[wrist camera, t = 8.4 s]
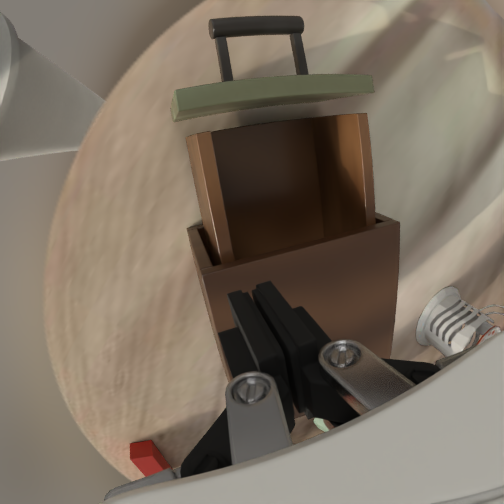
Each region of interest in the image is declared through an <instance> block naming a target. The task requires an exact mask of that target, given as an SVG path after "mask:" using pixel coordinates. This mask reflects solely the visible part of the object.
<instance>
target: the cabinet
mask: <svg viewBox="0 0 504 504" xmlns="http://www.w3.org/2000/svg"><path fill="white" fill-rule="evenodd" d="M375 222H376V224H374V225H370V226H366V227H362V228H359V229H355V230H351V231H347V232H343V233H340V234H336V235H332V236H328V237H324V238H321V239H317V240H313V241H309V242H305V243H302V244H298V245H294V246H290V247H286V248H282V249H279V250H275V251H271V252H267V253H263V254H259V255H256V256H252V257H248V258H244V259H240V260H236V261H232V262H229V263H225V264H221V265H217V266H213V265H212V262H211V257H210V253H209V249H208V244H207V240H206V235H205V230H204V226H203V224H202V225H198V226H194V227H190V228H187V232H188V236H189V241H190V245H191V249H192V253H193V257H194V261H195V265H196V269H197V273H198V277H199V281H200V285H201V289H202V293H203V296H204V300H205V304H206V308H207V311H208V315H209V319H210V322H211V326H212V329H213V333H214V336H215V340H216V343H217V347H218V350H219V354H220V357H221V361H222V364H223V367H224V370H225V373H226V376H227V379H228V382H230V381H231V380H232V379H233V377H232V375H231V372H230V369H229V366H228V363H227V360H226V357H225V354H224V351H223V348H222V345H221V342H220V339H219V336H218V333H219V332H222V331H225V330H228V329H232V328H235V324H234V320H233V317H232V313H231V309H230V306H229V302H228V298H227V293H231V292H234V291H237V290H242V292H243V293H244V292H248V293H249V295H250V296H251V298H252V300H253V296H252V290H254V289H256V285H257V284H260V283H263V282H267V281H271V282H272V283H273V284H274V286H275V287H276V288H277V290H278V291H279V292H280V293H281V295H282V296H283V297H284V298H285V300H286V301H287V302H288V304H289V305H290V306H291V307H292V309H293V308H296V307H299V306H302V307H303V308H304V309H305V310H306V311H307V312H308V313H309V314H310V316H311V317H312V318H313V319H314V320H315V321H316V323H317V324H318V325H319V326H320V327H321V328H322V330H323V331H324V332H325V333H326V334H327V336H328V337H329V338H330V339H331V340H332V341H334V340H338V339H351V340H355V341H357V342H359V343H361V344H362V345H363V346H365V347H366V348H367V349H369V350H370V351H372V352H373V353H374V354H376V355H377V356H378V357H380V358H384V359H390V355H391V348H392V341H393V332H394V323H395V314H396V303H397V290H398V274H399V251H400V222H398V221H396V220H393V219H391V218H389V217H386V216H384V215H381V214H379V213H376V212H375ZM293 406H294V404H293ZM294 412H295V416H294V419H296V418H298V417H301V416H304V415H305V413H304V412H302V413H300V414H299V413H298V411H297V410H296V408H295V406H294Z"/></svg>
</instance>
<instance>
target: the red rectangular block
mask: <svg viewBox="0 0 504 504" xmlns="http://www.w3.org/2000/svg"><path fill="white" fill-rule="evenodd" d="M130 459H131V461H132V462H133V463H134V464H135V465H136V466H137V468H138V469H139V470H140V471H141V472H142V473H143V474H144V475H145V476H146V477H147V476H149V475H152V474H155V473H157V472H160V471H162V470H165V469H167V468H171V467H170V465H169V464H168V463H167V461H166V460H165V459H164V457H163V456H162V455H161V453H160V452H159V450H158V449H157V448H156V446H155V445H154V443H153V442H152V440H149V441H143V442H137V443H130ZM171 469H172V468H171ZM172 470H173V469H172Z"/></svg>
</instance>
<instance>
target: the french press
mask: <svg viewBox="0 0 504 504" xmlns="http://www.w3.org/2000/svg"><path fill="white" fill-rule="evenodd" d="M464 305H466V306H467V307H466V308H465V307H463V306H464ZM492 306H498V307H501V308H504V306H501V305H488V306H486V307H484V308H481V309H476V308H474V307H473V306H471V305H470V304H468V303H466V302H465V301H463V300H461V298H460V294H459V291H458V289H457V288H455V287H452V286H450V287H447V288H444V289H442V290H441V291H440V292H438V293H437V294H436V295H435V296H434V297H433V298H432V299H431V301H430V302H429V303H428V304H427V306H426V307H425V309H424V311H423V313H422V315H421V317H420V318H419V322H418V325H417V329H416V339H417V341H418V342H419V344H420V345H425V346H428V345H432V346H434V347H435V348H436V349H437V350H439V351H440V352H441V353H442V354H443V355H445V356H446V357H448V356H451V355H453V354H456V353H458V352H461V351H463V349H464V348H465V347H466V346H467V345H468V344H469V343H470V341H471V339H472V337H473V333H474V332H475V330H476V338H475V340H474V342H473V345H472V346H471V347H473V346H475V345H479V344H480V343H482V342H483V341H485V340H487V339H488V338H490V337H492V336H493V335H495V334H497V333H499V332H501V331H500V327H499V326H492V325H490V324H489V323H488V322H486V320H489V321H491V322H492V323H494V321H493V320H492V319H491V318H489V317H488V316H486V315H489V314H493V313H495V314H500V315H503V316H504V314H503V313H499V312H489V313H486V314H483V313H482V312H480V311H481V310H483V309H485V308H488V307H492ZM470 309H472V310H474V311H473V312H471V311H469V310H470ZM477 313H479V314H480V315H481V316H477V315H476V314H477ZM464 323H465V327H464V328H463V329H462V330H461V328H462V324H464ZM480 334H481V335H483V336H482V337H481V339H480V340H479V335H480ZM478 340H479V341H478ZM449 341H452V342H451V344H448V342H449Z"/></svg>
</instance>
